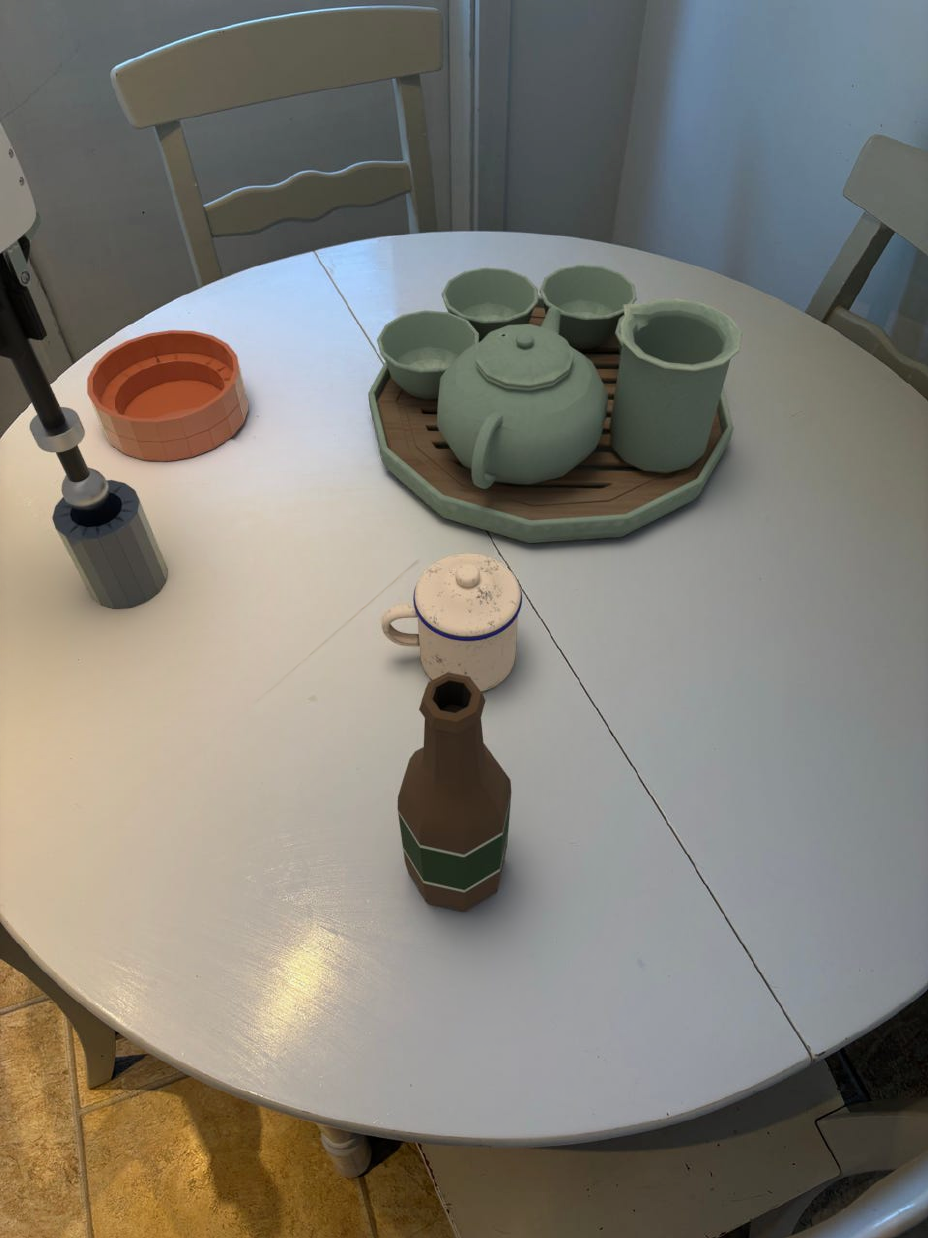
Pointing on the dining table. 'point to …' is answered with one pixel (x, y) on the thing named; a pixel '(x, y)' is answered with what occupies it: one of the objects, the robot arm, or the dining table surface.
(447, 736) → the beer bottle
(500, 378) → the tea set
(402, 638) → the teacup with lid
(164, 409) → the bowl
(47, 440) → the ball-tipped black rod
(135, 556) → the crock
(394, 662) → the dining table surface
